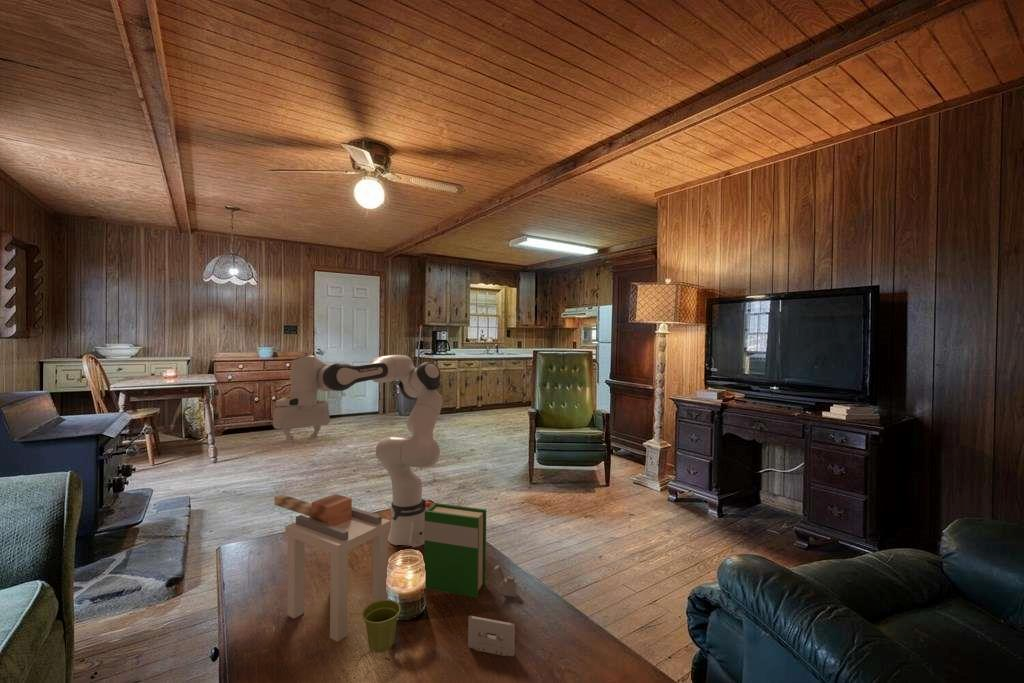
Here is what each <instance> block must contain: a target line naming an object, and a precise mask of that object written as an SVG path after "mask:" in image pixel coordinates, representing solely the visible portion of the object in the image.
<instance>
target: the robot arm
mask: <svg viewBox="0 0 1024 683" xmlns="http://www.w3.org/2000/svg"><path fill="white" fill-rule="evenodd" d="M441 375H442V374H441V370H440V368H439V367H438V365H437V364H436V363H435V362H432V361H425V362H422V363H421V364H419V365H418V366H417V367H416V366H415V365H414V362H413V360H412V358H411V357H410V356H408V355H405V354H403V355H402V354H390V355H389V354H388V355H387V354H386V355H381V356H378V357H377V356H376V357H374V358H372V359H371V360H370V361H369V363H366V364H360V365H351V364H349V363H345V362H337V363H333V364H328V363H326V362H324V361H322V360H320V359H319V358H318V357H316V355H311V354H310V355H309V354H308V355H303V356H298V357H295V358H294V359H293V360H292V363H291V367H290V377H289V379H290V385H291V386H290V390H289V395H287V396H285V397H283V398H280V399H277V400H275V404H274V405H275V407H276V408H275V409H274V410H273V416H272V427H273V428H274V429H277V430H279V429H281V430H283V433H284V435H285V437H286V440H285V441H286V442H288V443H289V442H294V435H292V434H291V433H290V432H291V431H292V429H293V428H305V427H312V428H313V432H312V433H311V434H310V439H312V440H316V439H318V434H319V432H320V430H321V426H327V425H329V423H330V421H331V419H330V411H329V403H328V401H326V400H324V399H322V400H320V399H318V390H320V391H321V392H333V391H336V392H344V391H346V390H348V389H350V388H351V387H352V386H354V385H355V384H358V383H362V382H366V381H373V382H374V383H390V382H396V381H397V386H398V387H399V390H400V393H401V394H402V395H403V397H404V398H405V399H407V400H408V401H413V400H416V402H415V404H414V407H412V409H411V412H410V414H409V416H408V418H407V420H406V427H407V428H406V429H407V430H408V431H409V433H411V434H412V435H411V436H399V435H398V436H397V435H392V436H387V437H386V436H385V437H382V438H381V439H380V440H379V441H378V442H377V445H376V446H375V447H376V448H375V456H376V458H377V460H378V461H379V462H380V463H381V464H382V465H383V466H384V467H385V469H386V471H387V473H388V475H389V477H390V480H391V488H392V502H391V508H390V516H391V529H390V530H389V532H388V543H389V544H392V545H393V546H397V545H409V546H412V547H411V548H418V547H421V546H423V545H424V539H425V511H426V510H427V509H428V508H430V507H431V506H432V504H431V502H429V501H428V500H425V499H424V498H423V483H422V479H421V478H420V476H418V475H417V474H416V473H414V470H412V468H419V469H420V468H421V469H423V468H431V467H434V466H435V465H436V464H437V463H438V461H439V459H440V456H441V450H440V449H441V448H440V446H439V444H438V443H437V441H436V440H435V439H434V437H433V434H434V433H433V432H434V429H435V426H436V424H437V420H438V418H439V416H440V414H441V410H442V407H443V406H442V405H443V396H442V395H441V393H439V392H438V391H437V389H439V388H440V387H441V386H440V385H441V377H442V376H441ZM409 546H408V547H409Z"/></svg>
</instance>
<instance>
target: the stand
mask: <svg viewBox="0 0 1024 683" xmlns="http://www.w3.org/2000/svg"><path fill="white" fill-rule="evenodd" d="M391 522H392V520H390V519H386V518H382V515H380V514H376V513H373V512H369V511H366V510H362V509H359V508H356V507H353V506H352V519H350V520H348V521H346V522H343V523H341V524H339V525H336V526H332V525H329V524H326V523H323V522H320V521H317V520H314V519H312V517H309V516H306V515H303V514H301V515H300V514H299V515H298V516H297V515H296V516H295V522H293V523H290V524H288V525H287V524H286V525H285V526H284V529H285V530H284V532H285V533H284V535H285V536H286V537H287V616H288V617H290V618H292V619H296V618H298V617H300V616H301V615H303V614H305V544H307V545H309V546H312V547H314V548H317V549H320V550H322V551H324V552H326V553H327V552H328V553H330V562H329V564H330V568H329V570H330V572H329V574H330V575H329V576H330V577H329V579H330V582H329V586H330V587H329V589H330V590H329V591H330V592H329V596H330V597H329V603H330V604H329V638H330V639H332V640H333V641H335V642H340V641H341V640H342V639H344V638H345V637H347V636H348V611H349V610H348V604H349V602H348V600H349V597H348V596H349V594H348V591H349V590H348V589H349V582H348V581H349V574H348V573H349V572H348V571H349V551H350V550H352V549H354V548H356V547H359V546H360V545H362V544H364V543H366V542H368V541H370V540H372V545H371V546H372V549H371V551H372V552H371V553H372V554H371V555H372V556H371V557H372V558H371V560H372V563H371V565H372V566H371V572H372V573H371V603H373V602H376V601H380V600H388V592H387V593H386V578H387V567H388V566H389V565H388V562H389V561H388V560H389V559H388V558H389V557H388V556H389V553H388V552H389V541H388V537H389V531H390V529H391ZM388 568H389V567H388Z"/></svg>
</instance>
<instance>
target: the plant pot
mask: <svg viewBox="0 0 1024 683" xmlns="http://www.w3.org/2000/svg"><path fill="white" fill-rule="evenodd" d="M401 608H402V607H401V604H400V603H399V602H398V601H395V600H392V599H387V600H380V601H376V602H373V603H372V602H371V603H370V604H368V605H367V606H365V608H364V609H363V610H362V613H361V617H362V619H363V620H364V624H365V627H366V628H365V629H366V635H367V642H368V646H369V649H370V651H374V652H375V653H383V652H386V651H388V650H389V649H390V648H391V647H392V646H393V645H395V644H394V643H395V637H396V630H397V622H398V618H399V614H400V613H401Z"/></svg>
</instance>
